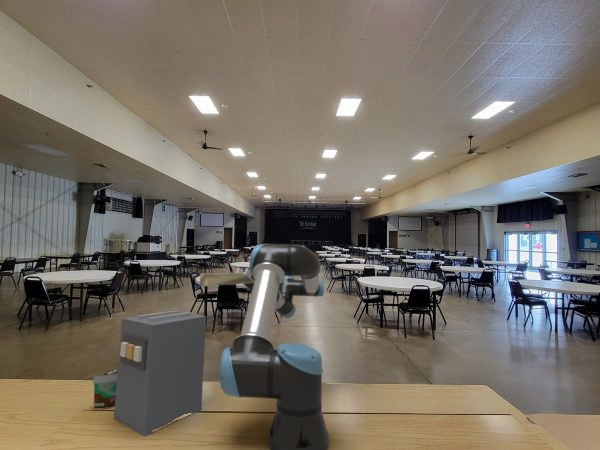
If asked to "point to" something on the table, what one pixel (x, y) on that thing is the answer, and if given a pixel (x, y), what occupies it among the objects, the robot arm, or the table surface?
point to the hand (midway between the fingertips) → (241, 271)
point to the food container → (105, 389)
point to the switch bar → (223, 279)
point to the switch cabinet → (159, 369)
